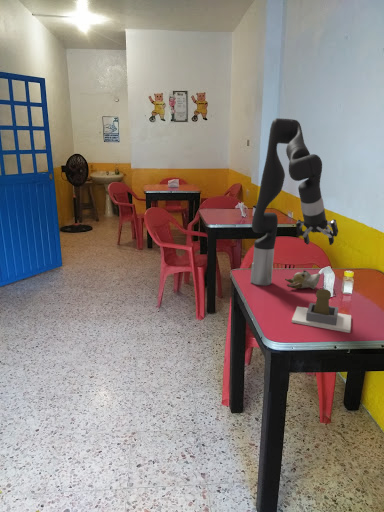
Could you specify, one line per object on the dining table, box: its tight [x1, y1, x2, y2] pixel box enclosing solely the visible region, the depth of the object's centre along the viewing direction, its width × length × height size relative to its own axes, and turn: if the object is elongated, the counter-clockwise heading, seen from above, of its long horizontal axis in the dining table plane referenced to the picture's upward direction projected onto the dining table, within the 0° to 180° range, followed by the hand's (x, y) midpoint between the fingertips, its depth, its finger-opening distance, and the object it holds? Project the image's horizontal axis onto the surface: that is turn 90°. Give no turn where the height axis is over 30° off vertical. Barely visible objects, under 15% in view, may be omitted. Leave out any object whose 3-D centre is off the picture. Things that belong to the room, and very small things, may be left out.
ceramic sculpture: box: [284, 269, 321, 290], centre depth 180 cm, size 11×9×15 cm
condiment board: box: [291, 302, 352, 334], centre depth 147 cm, size 20×14×4 cm
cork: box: [313, 288, 332, 315], centre depth 145 cm, size 6×6×11 cm
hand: (319, 243), depth 148 cm, fingers open, 8 cm apart
